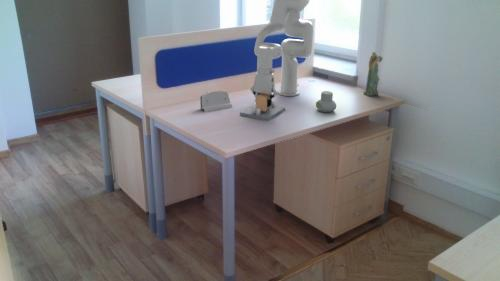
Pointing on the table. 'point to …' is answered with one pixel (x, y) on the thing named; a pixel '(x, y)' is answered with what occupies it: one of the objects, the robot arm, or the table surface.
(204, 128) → the table surface
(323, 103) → the grey green vase
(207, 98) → the hinge
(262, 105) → the block
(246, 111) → the base plate
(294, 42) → the robot arm
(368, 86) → the statue
